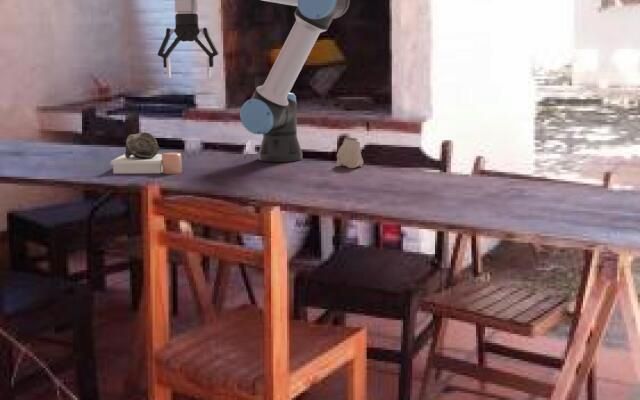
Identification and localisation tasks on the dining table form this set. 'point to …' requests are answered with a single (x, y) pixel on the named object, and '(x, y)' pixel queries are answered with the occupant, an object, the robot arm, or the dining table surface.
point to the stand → (137, 164)
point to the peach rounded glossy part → (171, 163)
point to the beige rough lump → (350, 153)
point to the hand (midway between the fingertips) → (189, 77)
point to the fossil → (141, 146)
